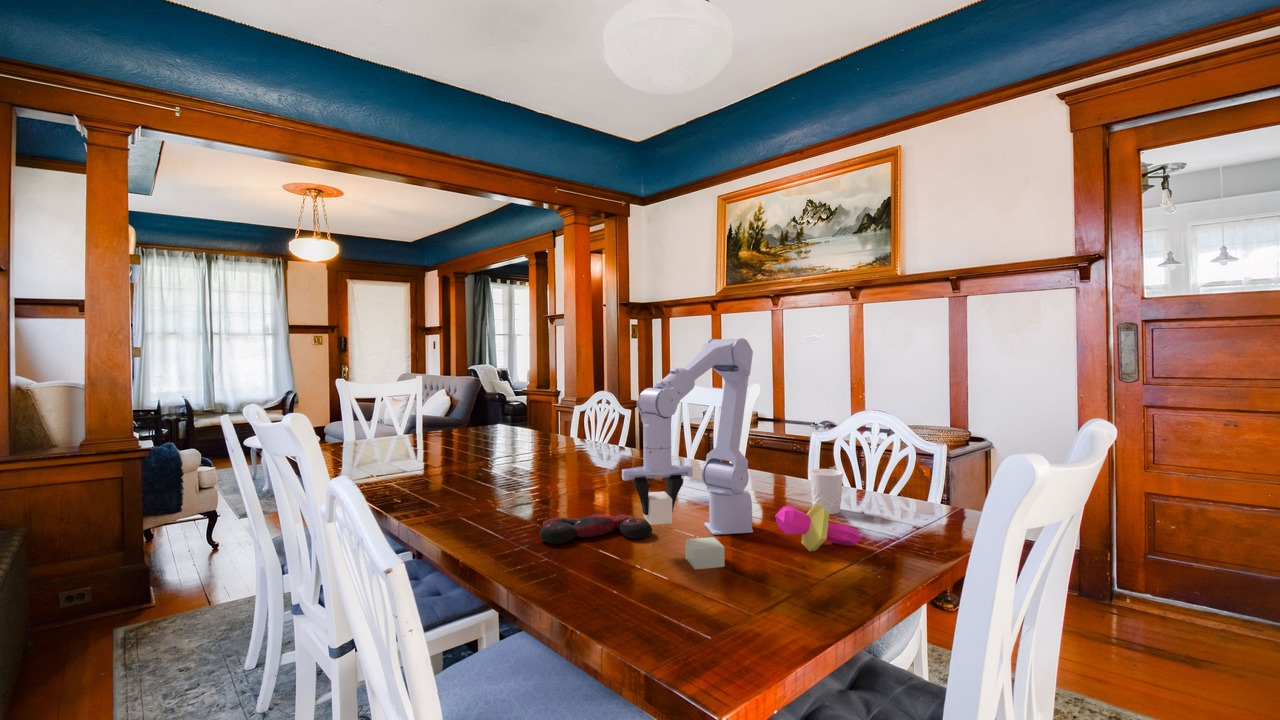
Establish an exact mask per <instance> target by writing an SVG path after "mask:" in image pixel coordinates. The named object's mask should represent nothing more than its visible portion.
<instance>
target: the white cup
mask: <svg viewBox="0 0 1280 720" xmlns="http://www.w3.org/2000/svg"><path fill="white" fill-rule="evenodd" d="M810 490H811V491H810V492H811V500H812V503H811V505H812V506H813V505H814V504H815V503H818V504H819V505H821V506H822V507H823V508H824V509H825V510H827V511H828V512H829V513H830V515H836V514H839V513H840V512H841V502H842V495H843V494H842V492H843V491H842V490H843V472H842V471H841V470H837V469H831V468H816V469H812V470H810Z"/></svg>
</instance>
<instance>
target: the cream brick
mask: <svg viewBox="0 0 1280 720" xmlns="http://www.w3.org/2000/svg"><path fill="white" fill-rule="evenodd" d="M648 507H649V510H648V515H644V514H643V517H644V520H646V521H647V522H649V524H650V525H651V526H657V525H667V524H673V513H672V498H671V497H670V496H669V495H668V494H667V491H649V492H648Z"/></svg>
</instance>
